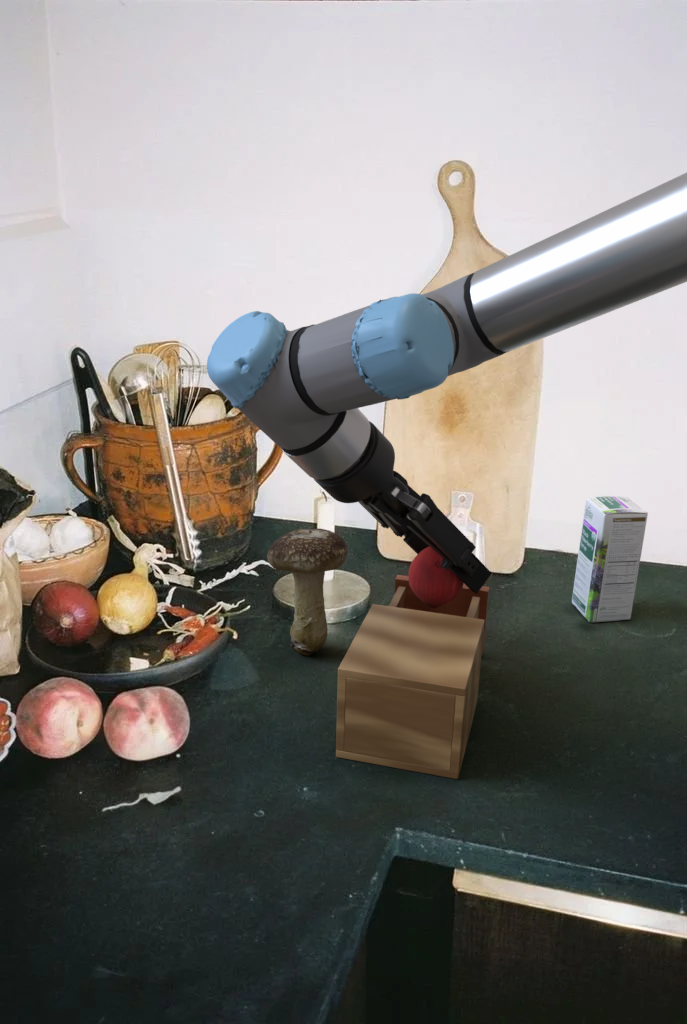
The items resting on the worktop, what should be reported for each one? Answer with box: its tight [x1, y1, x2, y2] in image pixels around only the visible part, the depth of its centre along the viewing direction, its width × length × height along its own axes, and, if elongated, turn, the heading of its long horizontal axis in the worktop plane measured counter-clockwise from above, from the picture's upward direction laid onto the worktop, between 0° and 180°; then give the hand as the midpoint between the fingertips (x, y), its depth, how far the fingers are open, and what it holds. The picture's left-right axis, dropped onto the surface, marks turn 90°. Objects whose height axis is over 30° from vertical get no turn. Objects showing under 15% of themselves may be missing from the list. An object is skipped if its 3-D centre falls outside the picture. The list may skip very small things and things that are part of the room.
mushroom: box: [266, 528, 349, 656], centre depth 103 cm, size 9×9×15 cm
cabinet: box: [335, 603, 485, 780], centre depth 91 cm, size 14×12×10 cm
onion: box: [407, 546, 464, 609], centre depth 98 cm, size 6×6×8 cm
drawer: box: [388, 574, 490, 655], centre depth 103 cm, size 17×10×8 cm, turn 165°
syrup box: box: [571, 495, 649, 623], centre depth 115 cm, size 6×6×14 cm
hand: (461, 571), depth 101 cm, fingers closed on onion, 6 cm apart
